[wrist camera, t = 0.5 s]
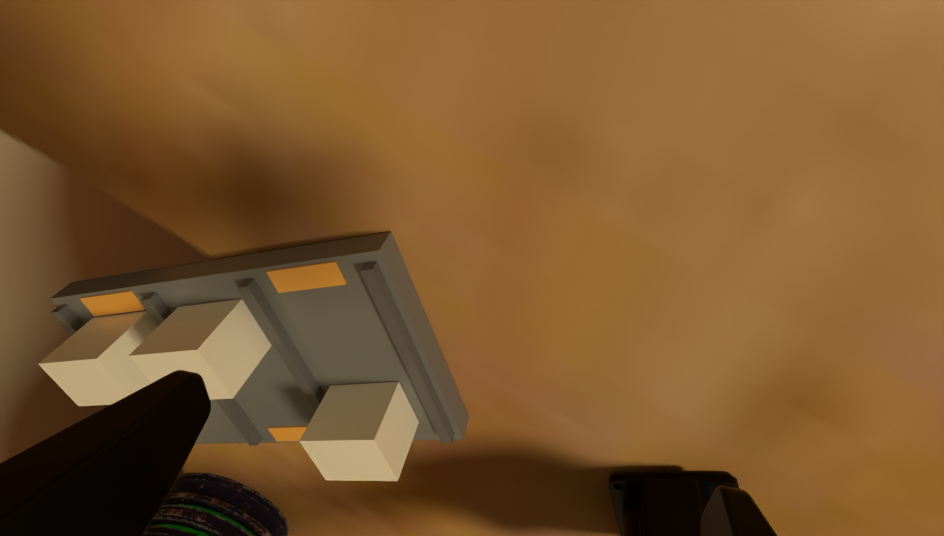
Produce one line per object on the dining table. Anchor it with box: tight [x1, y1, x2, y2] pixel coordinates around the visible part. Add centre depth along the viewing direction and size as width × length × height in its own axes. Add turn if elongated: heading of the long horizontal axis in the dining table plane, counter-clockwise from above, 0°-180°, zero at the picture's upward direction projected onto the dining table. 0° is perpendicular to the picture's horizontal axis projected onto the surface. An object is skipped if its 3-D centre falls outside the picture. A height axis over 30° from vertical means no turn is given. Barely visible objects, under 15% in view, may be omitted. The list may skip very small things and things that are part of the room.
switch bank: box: [50, 232, 469, 446], centre depth 29 cm, size 12×20×2 cm, turn 107°
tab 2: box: [299, 382, 419, 481], centre depth 27 cm, size 3×4×4 cm
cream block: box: [39, 311, 158, 406], centre depth 28 cm, size 3×4×4 cm
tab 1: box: [129, 299, 272, 400], centre depth 26 cm, size 3×4×4 cm
